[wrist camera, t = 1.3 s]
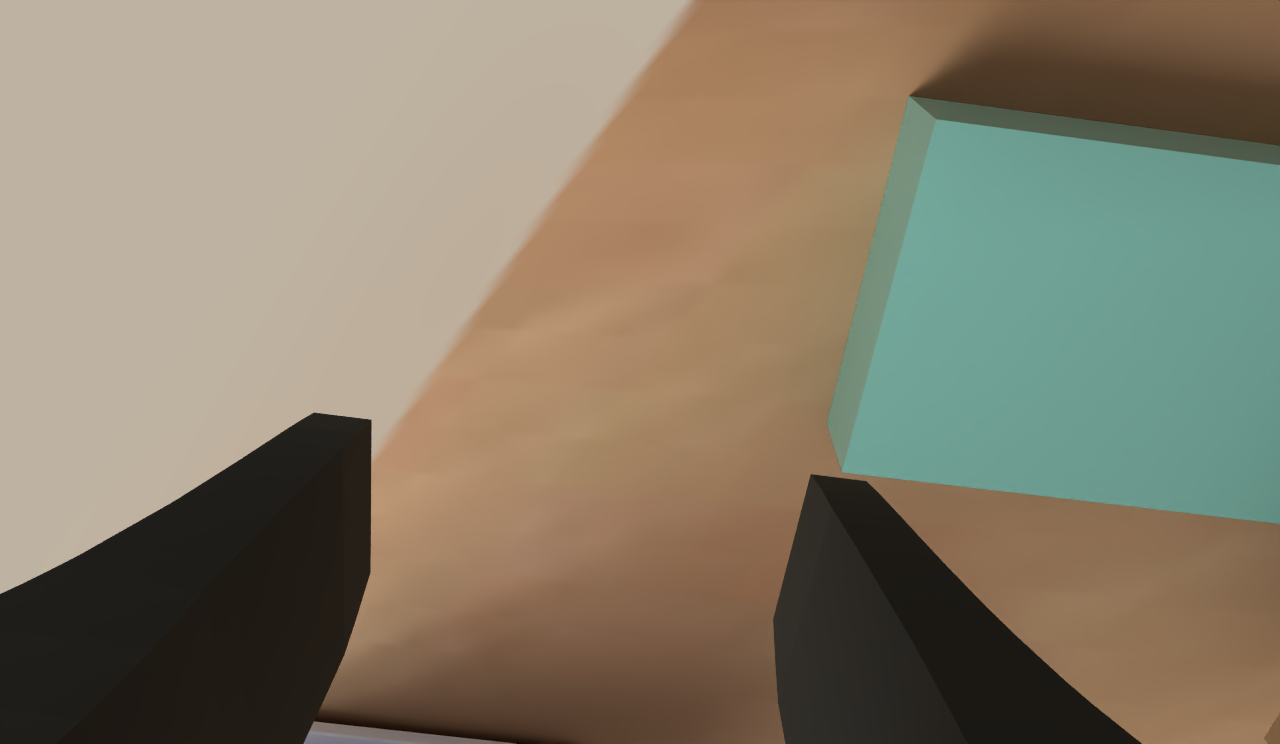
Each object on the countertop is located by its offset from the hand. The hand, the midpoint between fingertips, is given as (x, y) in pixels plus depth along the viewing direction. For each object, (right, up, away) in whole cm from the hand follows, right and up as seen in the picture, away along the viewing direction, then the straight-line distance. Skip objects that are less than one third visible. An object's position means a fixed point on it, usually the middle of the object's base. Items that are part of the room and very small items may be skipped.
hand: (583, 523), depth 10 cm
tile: (+10, +3, +9) cm, 14 cm away
